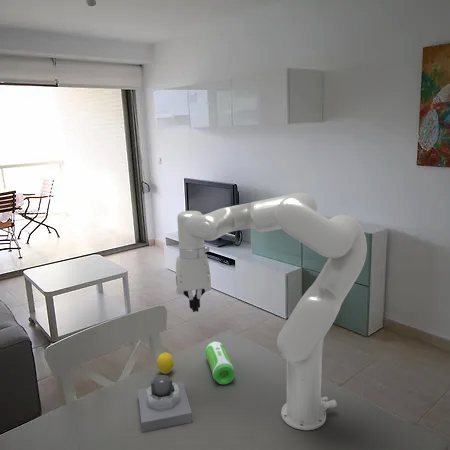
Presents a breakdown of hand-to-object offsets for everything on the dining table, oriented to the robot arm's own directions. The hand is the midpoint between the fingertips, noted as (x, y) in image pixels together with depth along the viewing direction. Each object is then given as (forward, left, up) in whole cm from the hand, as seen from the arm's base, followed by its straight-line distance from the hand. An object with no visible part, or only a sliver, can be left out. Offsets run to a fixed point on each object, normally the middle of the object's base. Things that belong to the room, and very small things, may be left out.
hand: (194, 310), depth 130 cm
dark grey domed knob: (+12, +7, -24) cm, 28 cm away
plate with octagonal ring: (+12, +7, -27) cm, 30 cm away
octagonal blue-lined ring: (+12, +7, -24) cm, 28 cm away
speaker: (-9, -8, -28) cm, 30 cm away
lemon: (+9, -12, -27) cm, 31 cm away
